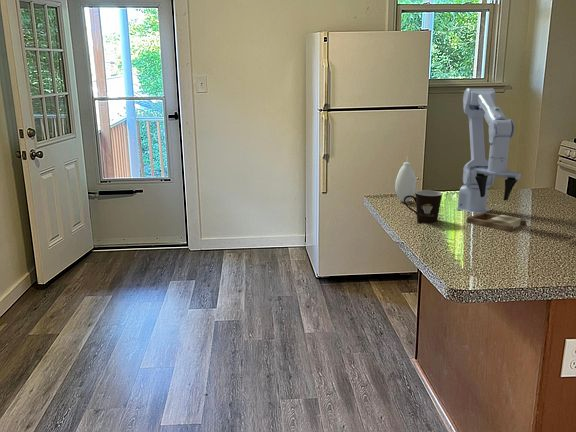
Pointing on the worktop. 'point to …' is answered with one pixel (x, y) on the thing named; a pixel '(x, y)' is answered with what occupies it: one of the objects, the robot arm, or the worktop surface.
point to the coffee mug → (426, 205)
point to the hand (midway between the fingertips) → (494, 198)
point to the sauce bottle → (405, 182)
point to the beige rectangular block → (507, 220)
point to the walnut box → (485, 218)
